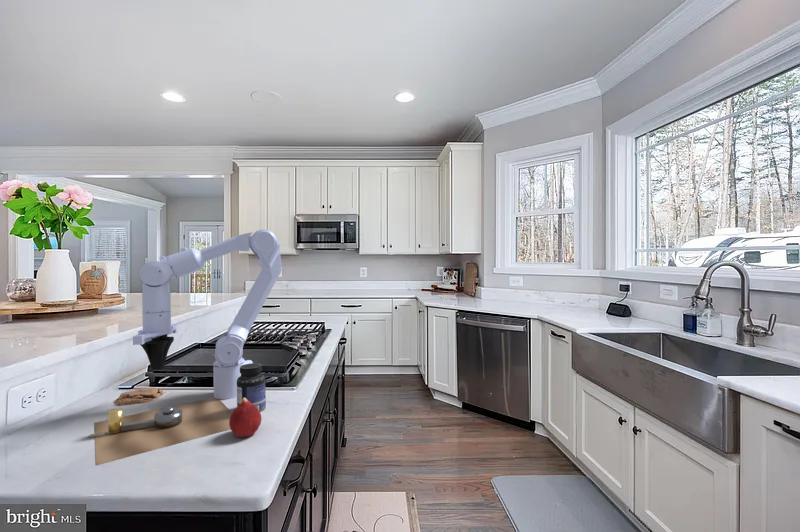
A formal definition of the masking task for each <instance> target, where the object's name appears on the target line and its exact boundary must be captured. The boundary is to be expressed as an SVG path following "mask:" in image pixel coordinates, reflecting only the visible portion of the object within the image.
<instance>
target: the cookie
mask: <svg viewBox="0 0 800 532" xmlns="http://www.w3.org/2000/svg"><path fill="white" fill-rule="evenodd" d="M162 395H164V391H163V389H161V388H157V387H145V388H138V389H134V390H129V391H125V392H122V393H120V395H119V396H118V397H117V398H116V399H115V402H114V404H115V405H116V404H117V406H122V407H123V406H129V405H130V406H131V405H137V404H147V403H150V402H154V400H155V399H157V398H160V397H161V396H162Z"/></svg>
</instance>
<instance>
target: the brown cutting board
mask: <svg viewBox="0 0 800 532" xmlns="http://www.w3.org/2000/svg"><path fill="white" fill-rule="evenodd" d="M170 407H174V409H181V410H182V422H181V423H179V424H177V425H174V426H171V427H166V428H157V427H155V426H152V427H145V428H139V429H133V430H126V431H121V432H118V433H113V434H110V433H108V419H106V420H100V421H97V422H94V432H93V433H90V435H89V436H88V438H94V447H95V450H94V451H95V466H99V465H104V464H107V463H110V462H114V461H117V460H122V459H126V458H129V457H133V456H137V455H140V454H144V453H148V452H152V451H155V450H159V449H163V448H167V447H170V446H174V445H177V444H182V443H185V442H189V441H192V440H197V439H202V438H205V437H209V436H212V435H215V434H218V433H222V432H227V431H232V430H231V429H230V425H229V421H230V416H231V414H232V412H233V411H232V410H230V409H229V408H228V407H227V406H226V405H225V403H223V401H222V400H221V399H217V398H215V397H214V396H213V397H208V398H204V399H200V400H195V401H191V402H187V403H186V402H185V403H181V404H177V405H176V404H175V405H172V406H170ZM163 408H164V407H162V408H158V409H152V410H148V411H144V412H139V413H135V414H134V413H133V414H129V415H123V423H130V422H137V421H143V420H150V419H154V415H155V414H156V413H158V412H160V411H163Z"/></svg>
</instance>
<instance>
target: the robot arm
mask: <svg viewBox="0 0 800 532" xmlns="http://www.w3.org/2000/svg"><path fill="white" fill-rule="evenodd" d="M250 250H251V251H252V253H253V254H254V256H256V258H257V261H258V263H259V266H260V268H261V270H260V271H259V273H258V275H257V277H256V278H255V281H254V282H253V284H252V286H251V288H250V289H249V291H248V294H247V295H246V297H245V300H244V301H243V303H242V304H241V306H240V307H239V310H238V312H237V313H236V315H235V317H234V319H233V321H232V323H231V324H230V326H229V327H228V328H227V330H226V332H225V333H224V334H223V335H222V336H220V337H219V338H218V339H217V341H216V342H215V350H214V358H215V361H213V363H212V365H213V397H215V398H217V399H219V400H231V399H237V379H238V378H239V377H240V376H241V373H240V366H242V365H245V364H250V363H254V362H253V361H252V360H251V359H246V360H245V358H244V357H243V353H244V352H243V351H244V349H243V348H244V345H245V342H246V341H247V338H248V336H249V332H250V331H251V329H252V327H253V325H254V324H255V321H256V320H257V317H258V316H259V314H260V312H261V310H262V308H263V306H264V304H265V302H266V301H267V299H268V297H269V295H270V293H271V291H272V290H273V287H274V286H275V284H276V282H277V280H278V278H279V276H280V275H281V273H282V270H283V267H282V259H281V244H280V243H279V241H278V239H277V237H276V235H275V234H274V233H273V231H271V230H269V229H264V228H262V229H259V230H256V231H255V232H254V233H253V231H250V232H247V233H242V234H238V235H235V236H232V237H231V238H230V237H229V238H227V239H225V240H222V241H220V242H217V243H215V244H213V245H209V246H208V247H205V248H202V249H197V248H194V247H189V248H187V247H185V246H184V247H183V248H180V251H177V252H176V253H173V254H170V255H167V256H165V255H162V256H159V257H158V258H159V260H150V261H148V262H147V263H145V264H143V266H142V267H141V268H140V270H139V277H140V280H141V281H142V294H141V299H142V300H141V301H142V306H141V308H142V313H141V314H142V329H141V330H138V331H137V334H135V335H133V336H132V345H134V346H135V345H137V346H138V345H140V346H141V348H143V351H144V352H145V355H146V356H147V359H148V363H149V365H150V368H151V369H152V370H162V369H163V368H164V367H165V364H166V360H167V358H168V357H167V356H168V353H169V350H170V347H172V344H173V342H174V340H175V338H174V336H168V335H172V334H179V325H178V324H172V310H171V309H172V304H171V302H172V301H171V298H172V297H171V294H172V293H171V289H170V281H171V279H174V280H177V279H178V278H182V277H185V276H187V275H190V274H192V273H195V272H197V271H201V270H202V269H203V268H204V266H205V263H206V262H208V261H212V260H213V259H217V258H220V257H222V256H226V255H228V254H231V253H233V252H237V251H238V252H239V251H240V252H246V253H247V252H250Z"/></svg>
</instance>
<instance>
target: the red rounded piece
mask: <svg viewBox="0 0 800 532" xmlns="http://www.w3.org/2000/svg"><path fill="white" fill-rule="evenodd" d="M231 412H232V414H231V416H230V421H229V425H230V429H231V430H230V431H231V432H232V433H233V434H234V435H236V436H237V437H239V438H247V437H250V436H252V435H254V434H255V433H256V432H257V431H258V430H259V428H260V426H261V424H262V420H263V419H262V414H261V412H260V411H259V409H258V408H257V407H256V406H255V405H254V404H253V403H250V402H249V401H248V400H247V399H246V398H243V400H242V403H241V404H240V405H238V406H237V405H236V407H235V408H234V409H233V411H231Z"/></svg>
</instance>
